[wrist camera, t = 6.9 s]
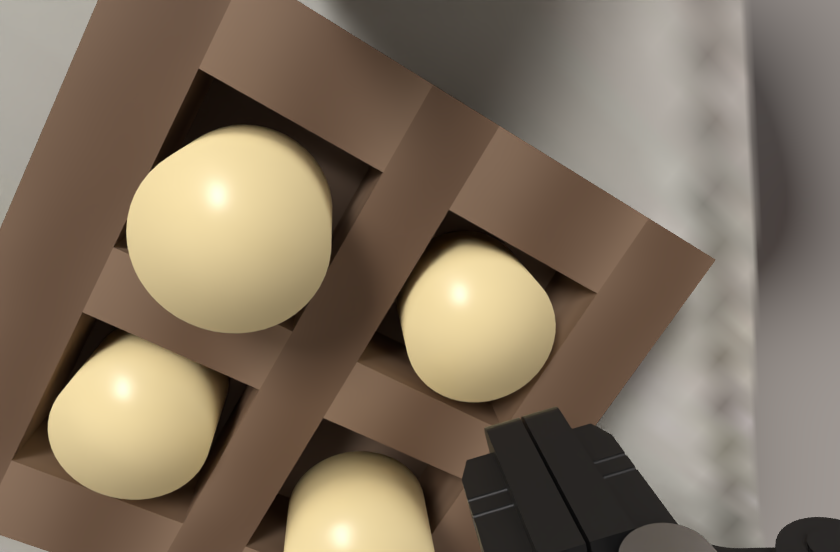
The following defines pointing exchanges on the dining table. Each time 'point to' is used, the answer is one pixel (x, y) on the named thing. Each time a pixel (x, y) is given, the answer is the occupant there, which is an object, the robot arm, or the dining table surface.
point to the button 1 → (136, 418)
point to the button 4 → (474, 318)
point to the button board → (340, 289)
